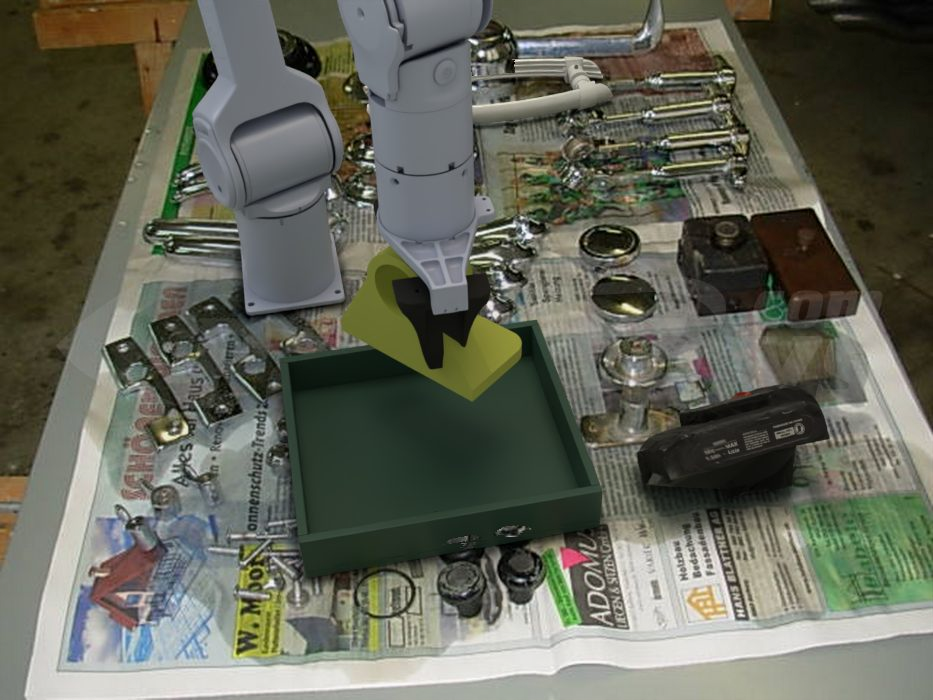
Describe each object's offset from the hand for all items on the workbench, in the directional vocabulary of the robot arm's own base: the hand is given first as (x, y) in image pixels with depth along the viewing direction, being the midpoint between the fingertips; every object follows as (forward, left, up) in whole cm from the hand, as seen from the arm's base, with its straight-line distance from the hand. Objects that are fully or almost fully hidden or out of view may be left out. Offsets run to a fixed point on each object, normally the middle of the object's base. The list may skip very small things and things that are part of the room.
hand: (434, 329), depth 73 cm
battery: (+8, +18, -10) cm, 22 cm away
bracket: (-1, 0, -3) cm, 3 cm away
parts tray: (+2, -1, -10) cm, 10 cm away
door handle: (-45, +13, -10) cm, 48 cm away
